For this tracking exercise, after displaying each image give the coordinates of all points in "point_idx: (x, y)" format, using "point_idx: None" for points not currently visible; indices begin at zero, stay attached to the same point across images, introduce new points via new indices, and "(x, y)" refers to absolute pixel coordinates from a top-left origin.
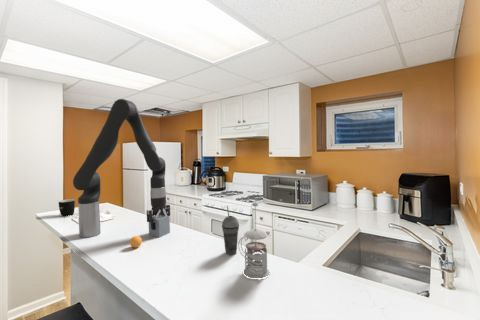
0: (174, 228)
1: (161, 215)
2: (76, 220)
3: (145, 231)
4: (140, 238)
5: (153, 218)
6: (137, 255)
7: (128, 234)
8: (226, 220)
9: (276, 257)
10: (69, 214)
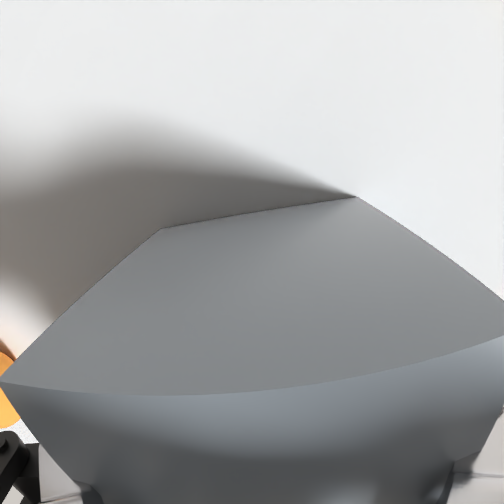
0: (485, 285)
1: (450, 459)
2: None
3: (215, 42)
4: (4, 426)
5: (110, 490)
6: (20, 433)
7: (50, 13)
8: None
9: None
10: None
